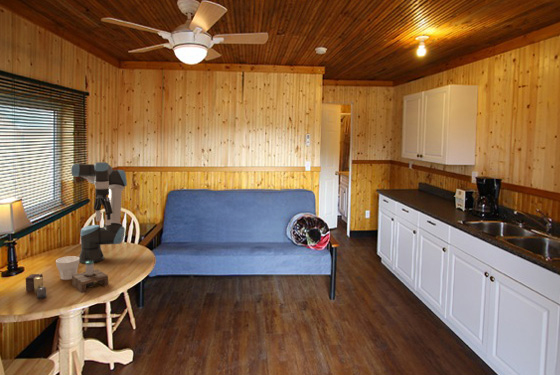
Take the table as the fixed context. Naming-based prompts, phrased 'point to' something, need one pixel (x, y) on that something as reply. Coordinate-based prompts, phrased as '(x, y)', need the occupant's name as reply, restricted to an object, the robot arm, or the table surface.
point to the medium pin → (38, 283)
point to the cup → (67, 266)
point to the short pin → (41, 293)
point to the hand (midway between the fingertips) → (103, 223)
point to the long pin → (89, 271)
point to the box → (31, 281)
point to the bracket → (88, 279)
